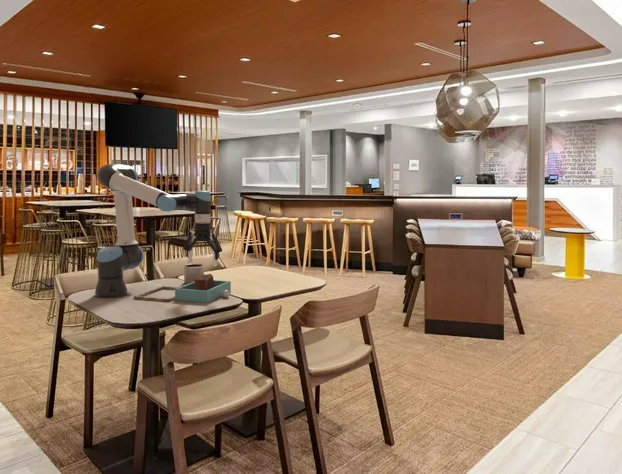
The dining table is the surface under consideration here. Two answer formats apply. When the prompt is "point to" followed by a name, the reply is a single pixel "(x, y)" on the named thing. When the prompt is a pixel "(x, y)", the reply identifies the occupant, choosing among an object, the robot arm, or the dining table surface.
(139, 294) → the frame
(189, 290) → the dish
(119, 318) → the dining table surface
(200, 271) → the planter
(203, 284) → the reddish brown block
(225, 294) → the pebble
